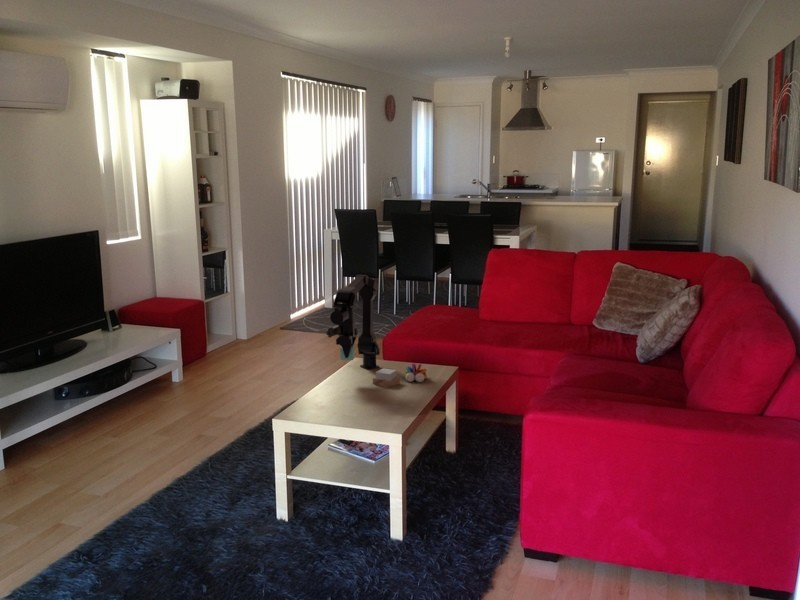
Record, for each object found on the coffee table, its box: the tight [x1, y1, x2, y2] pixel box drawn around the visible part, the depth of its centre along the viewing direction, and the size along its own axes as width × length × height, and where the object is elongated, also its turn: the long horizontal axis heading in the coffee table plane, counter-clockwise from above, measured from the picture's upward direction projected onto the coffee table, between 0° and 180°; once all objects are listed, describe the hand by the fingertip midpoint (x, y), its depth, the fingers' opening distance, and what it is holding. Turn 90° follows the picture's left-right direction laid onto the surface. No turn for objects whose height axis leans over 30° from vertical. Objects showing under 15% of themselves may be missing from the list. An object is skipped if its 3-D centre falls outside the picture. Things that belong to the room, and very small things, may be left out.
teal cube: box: [340, 345, 355, 361], centre depth 293 cm, size 5×5×5 cm
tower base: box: [372, 376, 401, 389], centre depth 294 cm, size 8×8×3 cm
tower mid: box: [375, 368, 398, 381], centre depth 294 cm, size 6×6×3 cm
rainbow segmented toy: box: [403, 363, 428, 383], centre depth 298 cm, size 8×10×7 cm
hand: (347, 356), depth 294 cm, fingers closed on teal cube, 5 cm apart
